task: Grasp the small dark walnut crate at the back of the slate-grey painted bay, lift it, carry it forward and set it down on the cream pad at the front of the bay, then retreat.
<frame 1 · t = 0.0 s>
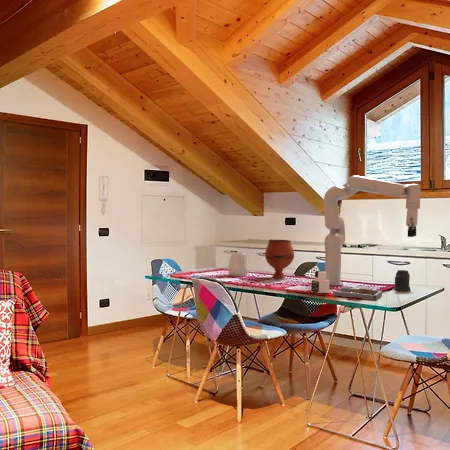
hand: (411, 236, 282), 31 cm above the table, fingers open, 9 cm apart
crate: (365, 297, 264), resting in bay
bay: (357, 295, 265), on the table
vase: (238, 275, 336), on the table
medicine bottle: (320, 293, 273), on the table
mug: (401, 290, 285), on the table
goblet: (279, 278, 329), on the table
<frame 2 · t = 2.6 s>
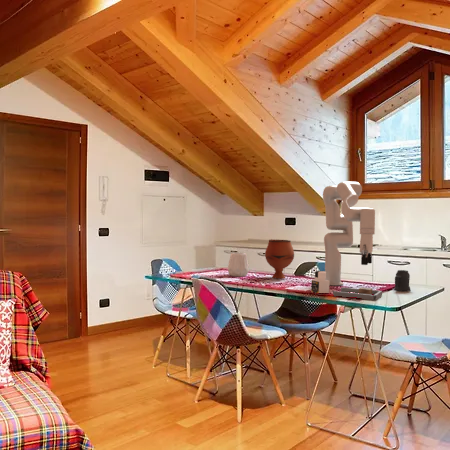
hand: (366, 264, 263), 17 cm above the table, fingers open, 9 cm apart
nothing on the table moved.
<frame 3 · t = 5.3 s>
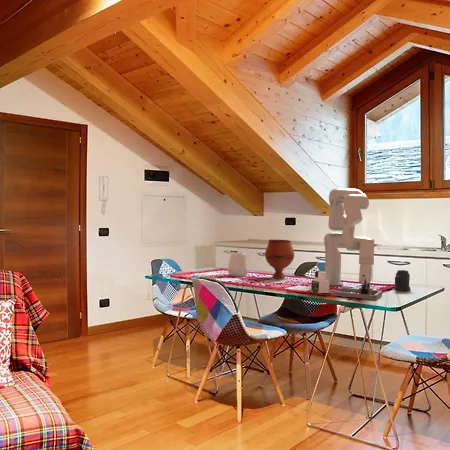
hand: (365, 295, 263), 1 cm above the table, fingers closed on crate, 5 cm apart
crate: (365, 296, 263), resting in bay, touching gripper
everything else where it was.
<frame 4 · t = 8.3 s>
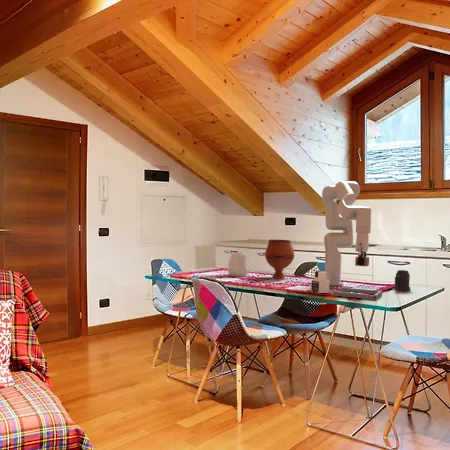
hand: (362, 264, 264), 17 cm above the table, fingers closed on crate, 5 cm apart
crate: (362, 265, 264), point 16 cm above the table, touching gripper
everything else where it was.
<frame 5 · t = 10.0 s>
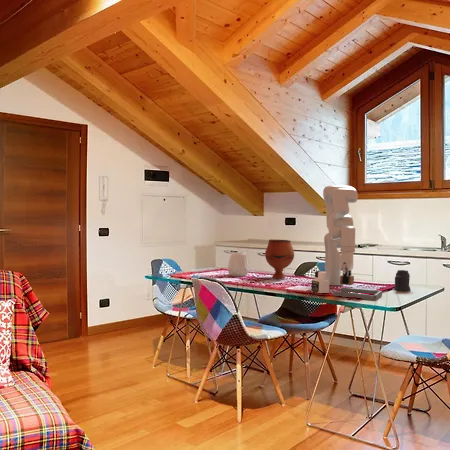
hand: (346, 282, 268), 7 cm above the table, fingers closed on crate, 5 cm apart
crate: (346, 284, 268), point 6 cm above the table, touching gripper
everything else where it was.
when the fingers open (2 cm above the table, at t = 11.3 s): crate drops 1 cm, resting on bay.
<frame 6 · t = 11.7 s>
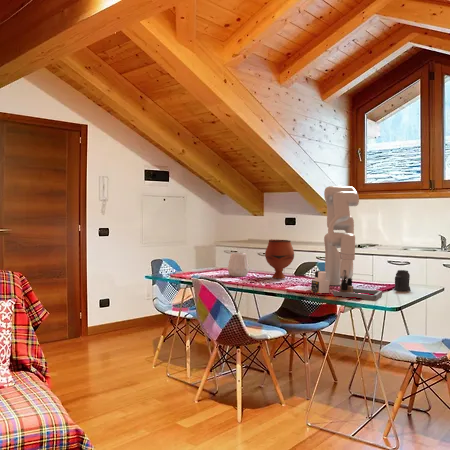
hand: (346, 288, 268), 3 cm above the table, fingers open, 9 cm apart
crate: (346, 294, 268), resting on bay
everything else where it was.
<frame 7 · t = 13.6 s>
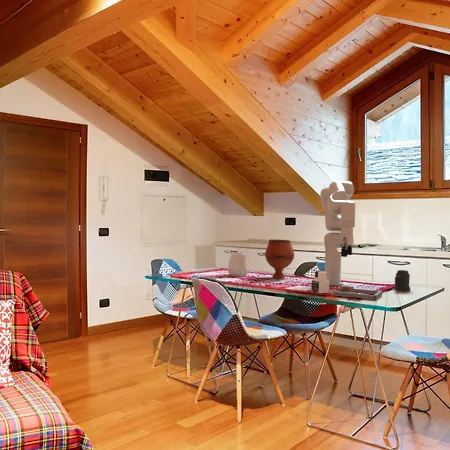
hand: (346, 255, 270), 21 cm above the table, fingers open, 9 cm apart
nothing on the table moved.
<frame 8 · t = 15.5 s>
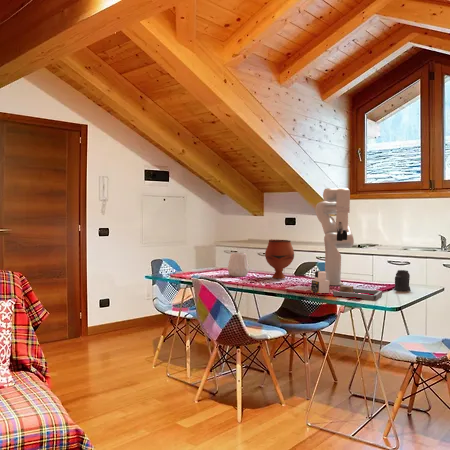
hand: (341, 240, 283), 28 cm above the table, fingers open, 9 cm apart
nothing on the table moved.
at the end: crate inside the target area (0.2 cm from its centre), resting on bay; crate tilted 0°; the gripper is holding nothing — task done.
